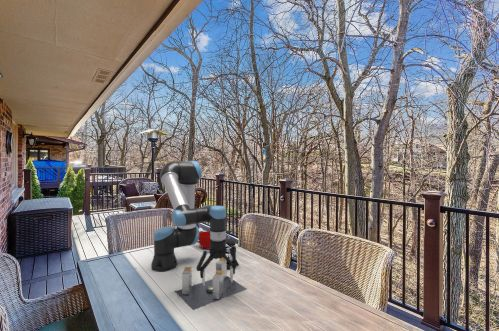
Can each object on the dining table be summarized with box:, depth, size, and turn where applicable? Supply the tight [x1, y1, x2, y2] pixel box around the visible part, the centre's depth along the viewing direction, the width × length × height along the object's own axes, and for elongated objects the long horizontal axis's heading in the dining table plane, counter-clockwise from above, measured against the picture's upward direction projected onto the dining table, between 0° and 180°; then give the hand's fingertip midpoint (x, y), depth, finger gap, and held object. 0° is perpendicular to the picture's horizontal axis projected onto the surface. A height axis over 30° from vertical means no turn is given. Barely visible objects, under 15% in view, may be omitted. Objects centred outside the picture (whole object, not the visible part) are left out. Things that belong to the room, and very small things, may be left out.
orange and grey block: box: [181, 266, 193, 294], centre depth 138 cm, size 3×7×10 cm, turn 1°
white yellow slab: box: [215, 258, 228, 279], centre depth 150 cm, size 3×7×10 cm, turn 163°
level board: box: [174, 275, 248, 311], centre depth 139 cm, size 20×30×3 cm, turn 128°
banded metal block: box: [212, 270, 224, 299], centre depth 134 cm, size 3×7×10 cm, turn 168°
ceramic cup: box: [197, 230, 210, 250], centre depth 203 cm, size 13×17×10 cm
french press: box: [222, 229, 237, 271], centre depth 167 cm, size 12×9×23 cm
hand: (217, 282), depth 134 cm, fingers open, 13 cm apart
